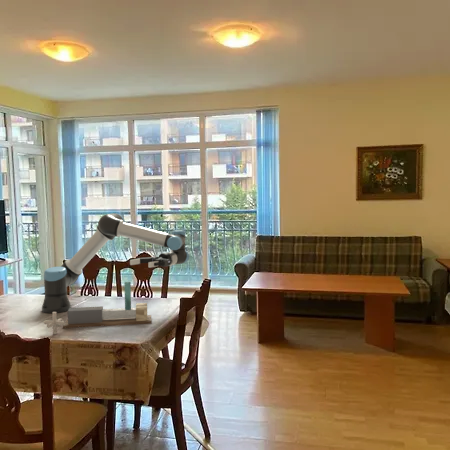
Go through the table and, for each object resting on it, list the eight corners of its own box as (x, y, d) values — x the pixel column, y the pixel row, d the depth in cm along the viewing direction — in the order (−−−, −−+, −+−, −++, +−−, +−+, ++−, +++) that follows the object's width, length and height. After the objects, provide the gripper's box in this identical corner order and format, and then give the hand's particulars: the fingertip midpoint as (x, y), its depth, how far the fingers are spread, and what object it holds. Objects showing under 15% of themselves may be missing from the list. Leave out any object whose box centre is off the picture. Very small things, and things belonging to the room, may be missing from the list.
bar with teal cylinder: (93, 317, 228) (92, 282, 227) (142, 315, 232) (141, 280, 231) (92, 319, 224) (91, 284, 223) (142, 317, 228) (141, 282, 227)
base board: (67, 321, 230) (67, 319, 230) (151, 317, 237) (151, 314, 237) (62, 328, 218) (62, 325, 218) (151, 323, 225) (151, 321, 225)
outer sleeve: (70, 320, 227) (69, 307, 227) (103, 318, 230) (102, 306, 230) (68, 324, 221) (67, 311, 221) (102, 322, 224) (101, 309, 223)
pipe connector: (58, 337, 204) (58, 315, 203) (38, 336, 206) (38, 314, 205) (70, 331, 214) (70, 310, 213) (51, 329, 216) (50, 309, 215)
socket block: (136, 316, 234) (136, 303, 234) (147, 315, 235) (147, 302, 235) (136, 321, 225) (135, 307, 225) (147, 320, 226) (147, 307, 226)
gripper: (184, 268, 247) (156, 273, 230) (151, 263, 262) (123, 268, 245) (184, 254, 247) (156, 258, 230) (151, 250, 261) (123, 254, 244)
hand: (139, 263), depth 237 cm, fingers open, 13 cm apart
